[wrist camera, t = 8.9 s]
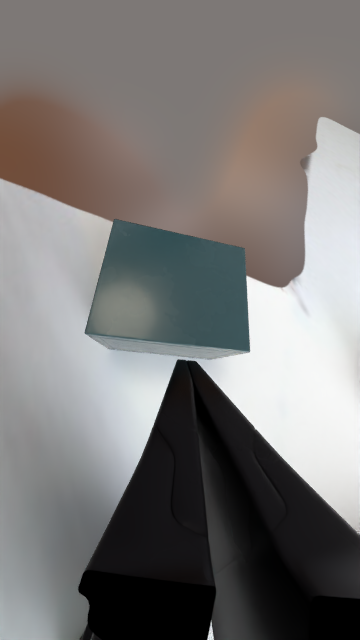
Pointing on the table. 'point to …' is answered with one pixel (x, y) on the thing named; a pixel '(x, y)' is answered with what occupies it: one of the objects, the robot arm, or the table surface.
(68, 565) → the table surface
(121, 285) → the green box lid
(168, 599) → the robot arm
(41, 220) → the table surface
